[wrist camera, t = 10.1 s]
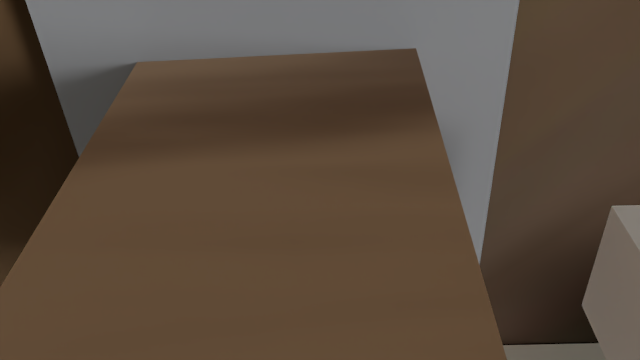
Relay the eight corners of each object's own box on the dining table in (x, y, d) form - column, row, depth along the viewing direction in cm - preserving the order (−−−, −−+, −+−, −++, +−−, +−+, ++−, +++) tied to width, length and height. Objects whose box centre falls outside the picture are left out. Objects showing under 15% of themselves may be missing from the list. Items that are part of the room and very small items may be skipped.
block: (137, 62, 13) (-56, 378, 6) (415, 48, 13) (508, 363, 6) (188, 263, 16) (98, 599, 10) (407, 256, 16) (461, 595, 10)
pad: (31, -26, 12) (19, -16, 12) (517, -48, 12) (525, -39, 12) (139, 304, 18) (134, 319, 18) (468, 296, 18) (472, 311, 17)
